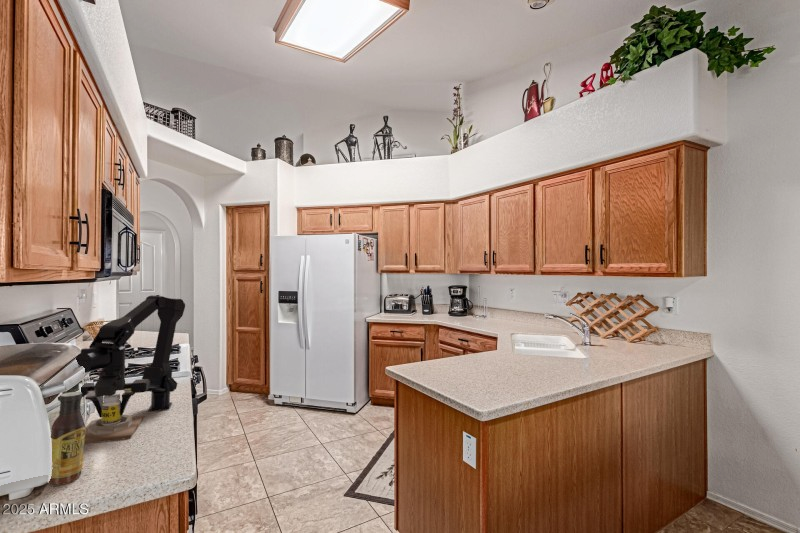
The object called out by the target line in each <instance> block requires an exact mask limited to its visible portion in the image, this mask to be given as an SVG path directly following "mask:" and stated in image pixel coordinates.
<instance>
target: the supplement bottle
mask: <svg viewBox="0 0 800 533" xmlns="http://www.w3.org/2000/svg"><path fill="white" fill-rule="evenodd" d="M121 403H122V399H121V394H120V393H115V394H114V395H112V396H103V404H102V417H101V418H102V419H101V424H102V425H105V426H107V425H114V424H117V423H119V422H120V421H121V415H120V409H121Z"/></svg>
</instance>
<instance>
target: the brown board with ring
mask: <svg viewBox="0 0 800 533" xmlns="http://www.w3.org/2000/svg"><path fill="white" fill-rule="evenodd" d="M144 418H145V416H144V415H139V416H132V415H127V414H123V415H121V421H120V422H119V423H117V424H114V425H107V426H105V425H102V424H101V419H102V417H99V418H97V419H94V420H91V421H90V423H88V424H87V425H85V439H84V445H85V444H93V443H101V442H111V441H117V440H119V441H120V440H126V439H128V440H129V439H131V438H132V437H133V436H134V434H135V433H136V431H137V430H138V428H139V426H140V425H141V424H142V422H143V420H144Z"/></svg>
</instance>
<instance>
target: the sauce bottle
mask: <svg viewBox="0 0 800 533" xmlns="http://www.w3.org/2000/svg"><path fill="white" fill-rule="evenodd" d="M82 398H83V397H82V393H81V392H71V391H70V392H65V393H62V394H60V395H59V404H60V406H59V411H58V413H59V415H58V416H57V418H56V419H55V420H54V422H53V424H52V426H51V433H50V434H51V435H50V437H51V438H52V462H53V469H52V476H51V479H50V481H49V483H47V484H48V485H49V486H60V485H66V484H68V483H71V482H73V481H75V480H77V479H79V477H81V475H82V471H83V464H84V451H85V444H84V439H85V427H86V425H85V420H84V418H83V416H82V412H81V411H82V410H81V402H82Z"/></svg>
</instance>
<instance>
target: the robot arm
mask: <svg viewBox="0 0 800 533" xmlns="http://www.w3.org/2000/svg"><path fill="white" fill-rule="evenodd" d="M185 308H186V303H185V302H184V300H183V299H182V298H169V297H165V296H162V295H152V294H151V295H149V296H147V297H146V298H145V299H144V300H143V301H142V302H141V303H139V304H138V305H136V306H135V307H134V308H133V309H131V310H130V311H128V313H126V314H124V316H122V317H120V318H116V319H113V320H110V321H109V322H107V323H105V324H103V325H102V326H101V327H100V328H99V329H98V330H99V331H98V332H97V334H96V335H95V337H94V339H93V340H92V342H91V343H90V345H89V346H88V348H87V347H85V348H81V350H80V353H78V354H77V355H76V356H75V358H76V360H77V362H78V364H79V365H80V366H83V367H84V368H85V373H84V374H87V373H91V372H94V371H97V370H100V373H99V376H98V380H97V381H96V383H94V382H84V385H83V386H82V387H81V393H82V398H85V400H89V401H91V402H92V404H93V405H94V408H95V409H96V411H97V415H98V416H99V418H102V404H103V402H104V396H112V395H114V394H117V393H116V392H117V391H123V393H122V394H121V409H120V415H124V413H125V411H126V408H127V405H128V403H129V401H130V399H131V397H132V396H134V395H135V394H138V393H146V392H151V398H150V406H149V407H148V409H147V412H155V411H164V410H165V411H166V410H170V408H171V406H172V405H173V402H170V401H171V393H172V392H174V391H175V390H177V388H178V382H177V381H176V380H175V379H174V378H173V369H172V367H171V365H170V358H171V352H172V349H173V348H172V347H173V342H174V336H175V331H176V326H177V323H178V322H179V321H180V319H181V318H182V317H183V315H184V312H185ZM156 311H157V313H156V314H157V317H158V319H159V321H160V323H159V324H160V325H159V329H158V333H157V339H156V344H155V348H154V353H153V358H152V362H151V364H150V365H149V366H145V367H144V368H143V373H142V374H143V375H142V377H141V379H134V381H133V382H129V383H126V380H125V370H126V349H130V348H132V344H130V343H128V342H127V341H129V339H130V338H132V336H133V335H134V334H135V329H136V328H137V327H138V326H139V325H140V324H141V323H142V322H144V321H145V320H146V319H148V318H149V317H150V316H151V315H152V314H153V313H155V312H156Z"/></svg>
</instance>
